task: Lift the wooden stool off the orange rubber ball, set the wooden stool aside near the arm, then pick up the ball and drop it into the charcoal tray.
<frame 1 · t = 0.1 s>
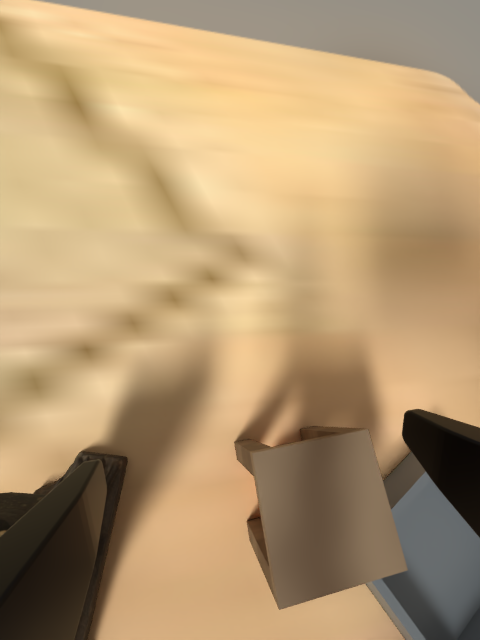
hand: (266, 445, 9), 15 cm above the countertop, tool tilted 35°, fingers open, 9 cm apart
sculpture: (63, 567, 19), on the countertop
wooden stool: (284, 479, 22), on the countertop
tray: (426, 547, 22), on the countertop
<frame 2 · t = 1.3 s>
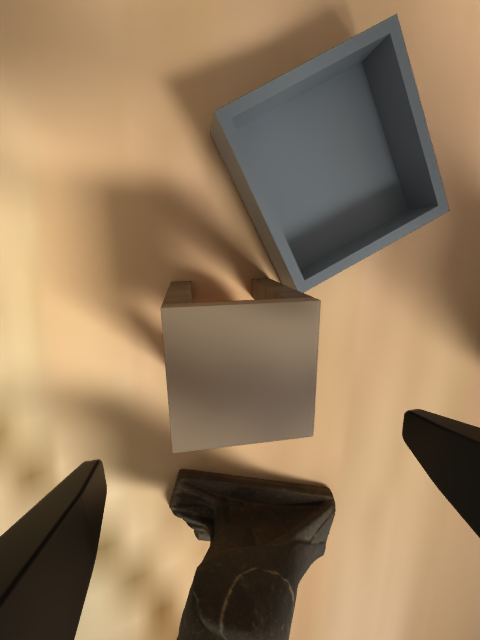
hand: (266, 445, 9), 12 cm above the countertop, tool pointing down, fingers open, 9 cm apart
sculpture: (253, 502, 25), on the countertop
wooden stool: (223, 327, 20), on the countertop
tray: (320, 177, 19), on the countertop
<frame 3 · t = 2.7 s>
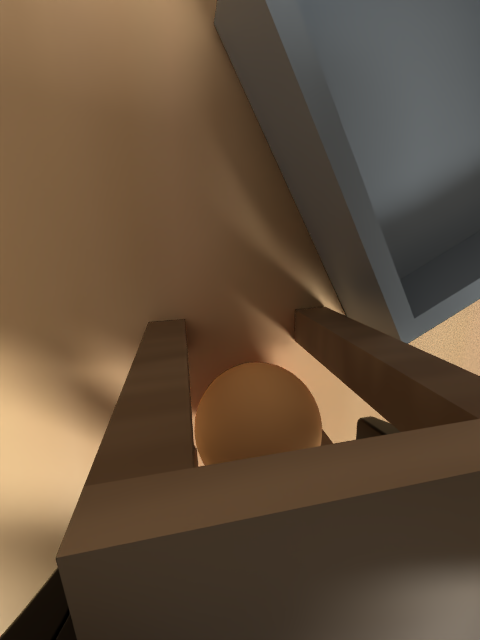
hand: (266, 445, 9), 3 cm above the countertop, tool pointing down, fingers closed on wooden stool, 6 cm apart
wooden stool: (244, 395, 12), on the countertop, touching gripper
tray: (419, 119, 10), on the countertop
ball: (257, 425, 10), point 2 cm above the countertop
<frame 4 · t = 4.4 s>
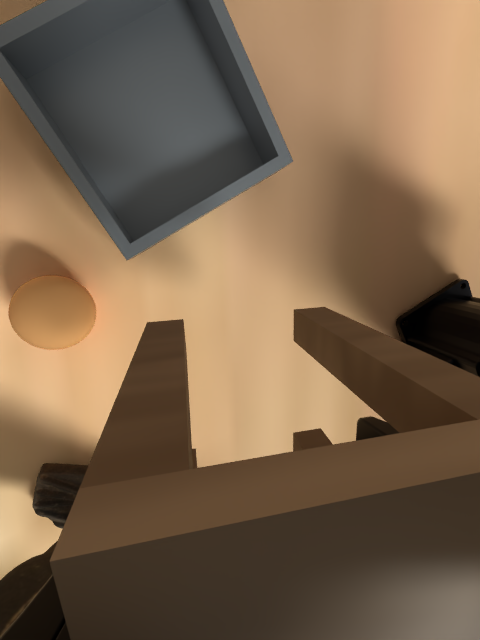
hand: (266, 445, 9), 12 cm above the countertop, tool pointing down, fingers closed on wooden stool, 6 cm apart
sculpture: (139, 495, 23), on the countertop
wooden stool: (243, 395, 12), point 9 cm above the countertop, touching gripper
tray: (158, 130, 17), on the countertop
ball: (55, 312, 16), point 2 cm above the countertop
when the fingers open (4 cm above the countertop, at t = 6.4 s): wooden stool stays where it is, on the countertop.
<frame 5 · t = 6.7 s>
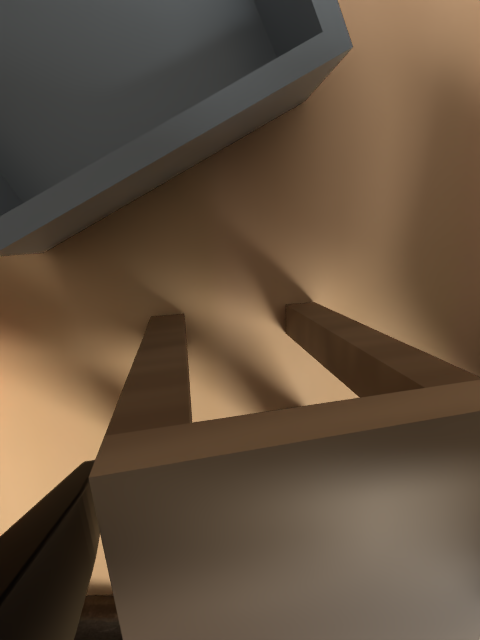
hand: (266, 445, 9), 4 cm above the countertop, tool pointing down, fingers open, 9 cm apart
sculpture: (79, 629, 14), on the countertop
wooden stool: (240, 384, 13), on the countertop
tray: (78, 1, 9), on the countertop
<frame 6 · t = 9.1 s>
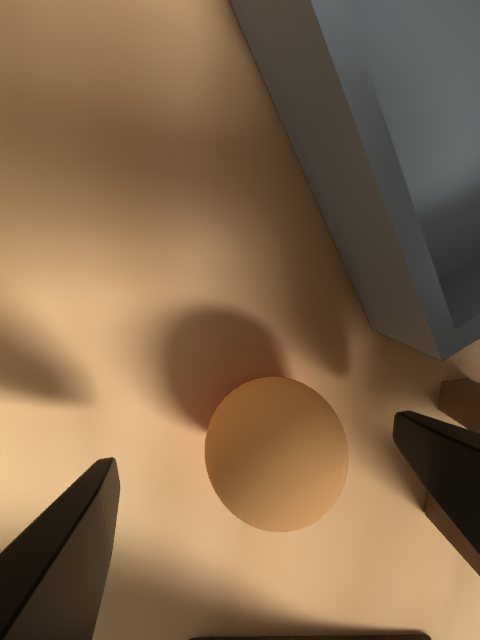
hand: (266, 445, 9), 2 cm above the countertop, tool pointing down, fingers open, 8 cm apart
tray: (454, 106, 9), on the countertop
ball: (274, 447, 9), point 2 cm above the countertop
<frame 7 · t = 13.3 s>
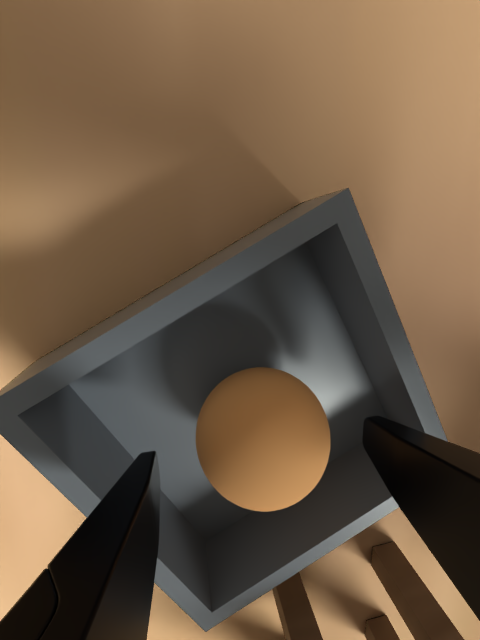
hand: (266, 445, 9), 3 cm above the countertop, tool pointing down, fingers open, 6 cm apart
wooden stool: (333, 603, 16), on the countertop
tray: (244, 395, 12), on the countertop
ball: (261, 433, 9), point 2 cm above the countertop, touching tray
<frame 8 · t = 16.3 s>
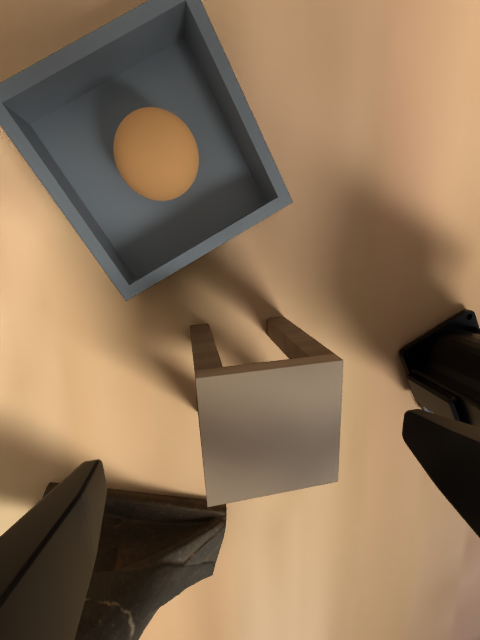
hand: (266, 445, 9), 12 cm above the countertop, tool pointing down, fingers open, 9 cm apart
sculpture: (141, 518, 23), on the countertop
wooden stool: (240, 365, 21), on the countertop
tray: (159, 169, 17), on the countertop
ball: (157, 156, 15), point 2 cm above the countertop, touching tray
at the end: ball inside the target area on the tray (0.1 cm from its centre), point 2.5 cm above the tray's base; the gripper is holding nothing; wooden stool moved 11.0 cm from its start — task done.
